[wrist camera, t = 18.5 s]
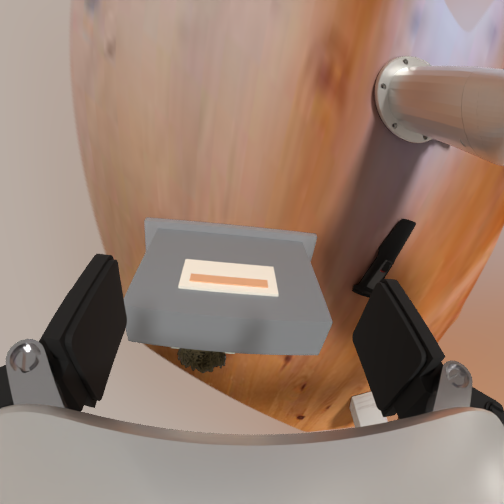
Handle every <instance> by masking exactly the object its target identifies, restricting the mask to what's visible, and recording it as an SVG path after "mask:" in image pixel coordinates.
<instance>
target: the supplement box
mask: <svg viewBox="0 0 504 504" xmlns="http://www.w3.org/2000/svg"><path fill="white" fill-rule="evenodd" d="M350 411H351V414H352V418H353V421H354V425H355V428H356V427H362V426H368V425H374V424H380V423H385V422H388V421H387V418H386V417H383V416H382V413H381V410H378V408H377V406H376V403H375V400H374V397H373V394H372V392H367V393H364V394H360V395H356V396H353V397H352V398H351V403H350Z"/></svg>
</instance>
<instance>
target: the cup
mask: <svg viewBox="0 0 504 504" xmlns="http://www.w3.org/2000/svg"><path fill="white" fill-rule="evenodd" d="M177 355H178V360H180V359H181V364H182V365H185V367H186V368H187V367H189V366H190V365H191V368H192V370H193V371H194V370H195V368H196V369H198V371H200V372H201V373H205V372H206V371H209V372H212V371H213V368H214V367H217V366H220V368H221V367H222V366H225V360H226V355H225V352H216V351H204V350H194V349H184V348H179V351H178V353H177Z"/></svg>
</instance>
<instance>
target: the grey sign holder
mask: <svg viewBox="0 0 504 504" xmlns="http://www.w3.org/2000/svg"><path fill="white" fill-rule="evenodd" d="M316 240H317V235H316V234H314V233H305V232H296V231H287V230H278V229H268V228H259V227H249V226H239V225H228V224H218V223H207V222H196V221H184V220H172V219H160V218H146V219H145V241H146V253H145V255H144V257H143V259H142V261H141V263H140V265H139V267H138V269H137V272H136V274H135V276H134V278H133V280H132V282H131V284H130V286H129V288H128V291H127V293H126V295H125V297H124V305H125V310H126V315H127V325H126V332H127V336H128V340H129V341H132V342H138V343H145V344H152V345H159V346H167V347H175V348H184V349H194V350H204V351H216V352H229V353H246V354H269V355H318V354H319V352H320V350H321V348H322V346H323V343H324V341H325V339H326V337H327V334H328V332H329V330H330V327H331V325H332V323H333V322H332V319H331V316H330V313H329V310H328V308H327V305H326V302H325V300H324V297H323V294H322V291H321V289H320V286H319V284H318V281H317V278H316V276H315V273H314V270H313V268H312V265H311V263H310V262H311V258H312V255H313V251H314V247H315V244H316Z"/></svg>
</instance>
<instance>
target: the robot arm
mask: <svg viewBox="0 0 504 504" xmlns="http://www.w3.org/2000/svg"><path fill="white" fill-rule="evenodd" d="M403 62H404V63H403ZM381 86H382V88H381ZM375 102H376V106H377V110H378V113H379V115H380V117H381V119H382V121H383V122H384V124H385V125H386V127H387V128H388V129H389V130H390V131H391V132H392V133H393V134H395V135H396V136H397V137H399V138H401V139H403V140H405V141H409V142H412V143H424V142H427V141H430V140H432V139H435V140H438V141H441V142H443V143H446V144H449V145H451V146H454V147H456V148H459V149H461V150H464V151H466V152H468V153H471V154H473V155H475V156H478V157H480V158H482V159H485V160H487V161H489V162H491V163H494V164H496V165H500V166H504V69H496V68H485V67H470V66H431V65H430V64H429V63H427V62H426V61H424V60H422V59H420V58H417V57H412V56H402V57H398V58H394V59H392V60H390V61H389V62H388V63H387V64H385V65H384V66H383V68H382V69H381V71H380V72H379V75H378V77H377V79H376V84H375ZM392 124H393V126H392ZM126 325H127V315H126V310H125V305H124V299H123V293H122V287H121V281H120V275H119V268H118V262H117V260H114V259H113V257H112V256H111V255H104V254H96V255H95V256H94V257H93V259H92V260H91V261H90V263H89V264H88V266H87V267H86V269H85V270H84V271H83V273H82V274H81V276H80V277H79V279H78V280H77V282H76V283H75V285H74V286H73V288H72V289H71V290H70V291H69V293H68V294H67V296H66V297H65V299H64V300H63V302H62V304H61V305H60V307H59V308H58V310H57V312H56V313H55V315H54V317H53V318H52V320H51V322H50V323H49V325H48V327H47V329H46V330H45V332H44V334H43V335H42V337H41V339H40V341H39V342H38V341H36V340H33V339H25V340H21V341H19V342H17V343H16V344H14V345H13V346H12V347H11V348H10V350H9V351H8V353H7V356H6V365H4V366H2V367H0V504H504V410H503V407H502V405H501V404H500V403H498V402H497V401H496V400H494V399H492V398H490V397H488V396H487V395H485V394H483V393H482V392H480V391H478V390H476V389H475V388H473V387H472V377H471V374H470V372H469V371H468V369H467V368H466V367H465V366H464V365H462V364H461V363H459V362H457V361H448V362H446V363H445V364H444V365H443V364H442V362H441V361H442V360H443V359H444V357H445V355H444V354H443V352H442V350H441V349H440V347H439V345H438V343H437V342H436V340H435V338H434V337H433V335H432V333H431V332H430V330H429V328H428V327H427V325H426V324H425V322H424V320H423V319H422V317H421V316H420V314H419V313H418V311H417V309H416V308H415V306H414V305H413V303H412V302H411V300H410V299H409V297H408V296H407V294H406V293H405V291H404V290H403V289H402V287H401V286H400V284H399V283H398V281H397V280H394V279H381V280H380V282H378V283H377V284H376V285H375V287H374V289H373V292H372V294H371V296H370V298H369V301H368V303H367V305H366V307H365V309H364V312H363V314H362V316H361V318H360V320H359V322H358V324H357V326H356V328H355V330H354V332H353V343H354V345H355V348H356V350H357V353H358V356H359V358H360V361H361V364H362V366H363V369H364V372H365V375H366V377H367V380H368V383H369V386H370V389H371V392H372V394H373V397H374V400H375V403H376V406H377V408H378V410H381V413H382V416H383V417H387V416H392V415H395V414H396V413H397V415H398V419H397V420H395V421H390V422H385V423H380V424H374V425H368V426H362V427H356V428H349V429H341V430H333V431H323V432H312V433H301V434H277V435H238V434H215V433H202V432H191V431H182V430H173V429H166V428H159V427H152V426H146V425H141V424H135V423H129V422H124V421H119V420H114V419H110V418H105V417H101V416H96V415H92V414H89V413H84V412H81V411H82V409H83V406H84V405H86V406H89V407H94V408H95V405H96V401H97V400H98V401H100V400H101V399H102V396H103V393H104V390H105V386H106V383H107V380H108V377H109V374H110V371H111V368H112V365H113V362H114V359H115V356H116V353H117V350H118V347H119V345H120V342H121V339H122V336H123V334H124V331H125V328H126Z"/></svg>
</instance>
